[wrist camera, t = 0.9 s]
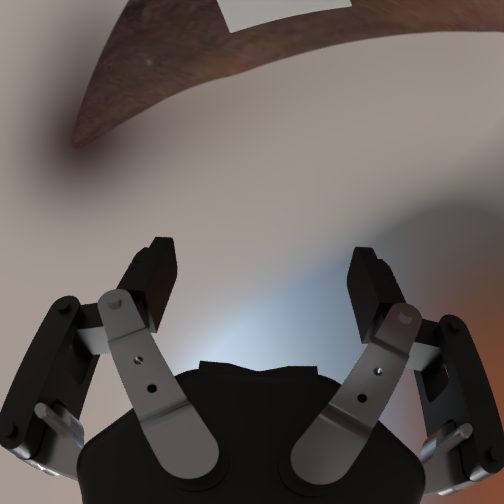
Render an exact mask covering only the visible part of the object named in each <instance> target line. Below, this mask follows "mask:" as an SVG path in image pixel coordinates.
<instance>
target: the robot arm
mask: <svg viewBox="0 0 504 504" xmlns="http://www.w3.org/2000/svg"><path fill="white" fill-rule="evenodd" d="M176 278H177V261H176V254H175V248H174V241H173V238H171V237H155V238H154V240H153V242H152V243H151V245H150V247H149V248H147V247H144V248H143V249H142V250H141V251H139V252H138V253H137V254H136V255H135V257H134V258H133V260H132V263H130V265H129V267H128V269H127V271H126V272H125V274H124V276H123V277H122V279H121V281H120V283H119V285H118V286H117V288H116V289H114V290H111V291H108V292H106V293H105V294H103V295H102V296H101V297H100V299H99V301H98V303H93V304H85V305H81V304H80V302H79V300H78V299H77V298H76V297H74V296H64V297H62V298H60V299H58V300H56V301H55V302H54V303H53V305H52V306H51V308H50V309H49V311H48V313H47V315H46V317H45V318H44V320H43V322H42V324H41V326H40V327H39V329H38V331H37V333H36V335H35V337H34V339H33V340H32V342H31V344H30V347H29V348H28V350H27V352H26V354H25V356H24V358H23V361H22V363H21V365H20V367H19V369H18V371H17V373H16V376H15V378H14V380H13V382H12V385H11V387H10V389H9V392H8V394H7V397H6V399H5V402H4V404H3V407H2V409H1V412H0V444H1V446H3V447H4V448H5V449H7V450H8V451H10V452H11V453H13V454H14V455H16V457H18V458H19V459H21V460H23V461H24V462H26V463H27V464H29V465H31V466H33V467H34V468H36V469H39V470H42V471H44V472H45V473H47V474H49V475H52V476H56V475H60V474H61V475H63V476H66V477H69V478H71V479H74V480H77V481H78V482H79V485H80V489H81V494H82V501H83V504H420V501H421V499H422V497H425V496H429V495H432V494H436V493H438V494H440V495H443V496H447V495H451V494H453V493H456V492H458V491H460V490H463V489H465V488H467V487H469V486H471V485H474V484H476V483H477V482H480V481H482V480H484V479H486V478H488V477H490V476H492V475H493V474H495V473H497V472H499V471H500V470H501V469H502V468H503V467H504V432H503V428H502V424H501V420H500V416H499V413H498V409H497V406H496V403H495V400H494V397H493V393H492V390H491V387H490V384H489V381H488V378H487V375H486V373H485V370H484V368H483V365H482V362H481V359H480V357H479V355H478V352H477V349H476V347H475V344H474V342H473V340H472V337H471V335H470V333H469V331H468V328H467V326H466V324H465V323H464V322H463V321H462V320H461V319H460V318H458V317H457V316H454V315H444V316H443V317H442V318H441V319H440V321H439V323H438V322H434V321H429V320H425V319H422V316H421V314H420V312H419V311H418V310H417V309H416V308H415V307H414V306H412V305H410V304H407V303H406V301H405V299H404V296H403V294H402V292H401V290H400V288H399V285H398V283H397V282H396V279H395V277H394V276H393V272H392V270H391V268H390V266H388V265H387V263H385V262H384V261H383V260H382V259H378V258H377V256H376V254H375V252H374V250H373V248H368V247H355V249H354V252H353V256H352V260H351V263H350V267H349V271H348V276H347V288H348V292H349V295H350V299H351V303H352V306H353V310H354V314H355V317H356V322H357V325H358V329H359V334H360V338H361V342H362V344H366V343H369V344H368V346H367V347H366V349H365V351H364V352H363V354H362V355H361V357H360V358H359V360H358V362H357V363H356V365H355V366H354V368H353V369H352V371H351V372H350V374H349V375H348V377H347V378H346V380H345V381H344V383H343V384H342V385H341V384H339V383H338V382H336V381H335V380H333V379H330V378H328V377H325V376H322V375H318V372H317V371H318V370H317V366H287V367H281V368H277V369H271V370H265V371H254V370H250V369H247V368H243V367H240V366H236V365H233V364H230V363H219V362H208V361H200V364H199V369H194V370H190V371H186V372H183V373H181V374H178V375H176V376H173V374H172V372H171V370H170V369H169V367H168V365H167V363H166V362H165V360H164V358H163V356H162V354H161V352H160V351H159V349H158V347H157V345H156V343H155V341H154V339H153V337H152V335H151V333H150V332H152V333H157V330H158V328H159V325H160V322H161V319H162V316H163V314H164V311H165V308H166V305H167V302H168V300H169V297H170V294H171V292H172V289H173V286H174V283H175V281H176ZM106 353H111V354H112V357H113V360H114V362H115V365H116V367H117V370H118V373H119V375H120V378H121V380H122V383H123V385H124V388H125V389H126V392H127V395H128V397H129V399H130V401H131V403H132V406H133V408H132V409H131V410H129V411H128V412H127V413H126V414H125V415H123V416H122V417H120V418H119V419H118V420H116V421H115V422H114V423H112V424H111V425H110V426H108V427H107V428H105V429H104V430H103V431H101V432H100V433H99V434H97V435H96V436H95V437H93V438H92V439H91V440H89V441H88V442H87V443H86V444H85V445H84V429H83V426H82V425H81V423H80V422H79V418H80V414H81V411H82V408H83V404H84V401H85V398H86V395H87V392H88V389H89V386H90V383H91V380H92V377H93V374H94V371H95V368H96V365H97V362H98V359H99V357H100V354H106ZM445 366H446V368H445ZM404 368H409V369H413V370H414V374H415V378H416V382H417V386H418V391H419V395H420V400H421V405H422V410H423V415H424V421H425V426H426V432H427V439H426V440H425V441H424V443H423V445H422V448H421V456H420V460H419V458H418V457H417V456H416V455H415V454H414V453H413V452H412V451H411V450H410V449H409V448H407V447H406V446H405V445H404V444H403V443H402V442H401V441H400V440H399V439H398V438H397V437H396V436H395V435H394V434H393V433H391V431H390V430H388V429H387V428H386V427H385V426H384V425H383V424H382V423H381V422H380V421H379V420H378V419H379V417H380V415H381V414H382V412H383V410H384V408H385V407H386V405H387V403H388V401H389V399H390V397H391V395H392V393H393V391H394V389H395V387H396V385H397V383H398V381H399V379H400V377H401V375H402V373H403V371H404ZM446 369H447V372H446ZM447 373H448V375H447ZM448 377H449V378H448Z"/></svg>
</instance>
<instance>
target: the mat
mask: <svg viewBox="0 0 504 504" xmlns="http://www.w3.org/2000/svg"><path fill="white" fill-rule="evenodd" d="M217 1H218V4H219V6H220V8H221V11H222V13H223V16H224V18H225V20H226V23H227V25H228V28H229V30H230V33H232V32H236V31H239V30H242V29H245V28H248V27H252V26H255V25H259V24H262V23H266V22H270V21H273V20H277V19H282V18H286V17H290V16H295V15H300V14H305V13H310V12H315V11H321V10H327V9H334V8H342V7H350V6H352V5H351V2H350V0H217Z"/></svg>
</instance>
